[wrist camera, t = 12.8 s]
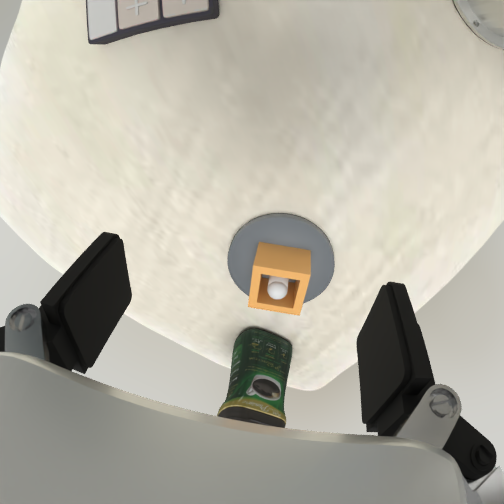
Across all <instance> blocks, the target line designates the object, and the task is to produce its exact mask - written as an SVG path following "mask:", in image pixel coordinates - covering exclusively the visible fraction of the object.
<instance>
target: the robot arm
mask: <svg viewBox="0 0 504 504" xmlns="http://www.w3.org/2000/svg"><path fill="white" fill-rule="evenodd" d="M453 1H454V3H455V6H456V8H457V10H458V11H459V13H460V15H461V17H462V18H463V19H464V21H465V22H466V24H467V25H468V26H469V27H470V28H471V29H472V31H473V32H474V33H475V34H476V35H478V36H479V37H480V38H481V39H482V40H484V41H485V42H487V43H488V44H490V45H492V46H494V47H496V48H500V49H504V0H453ZM473 23H474V24H473ZM131 298H132V292H131V287H130V281H129V276H128V270H127V264H126V258H125V251H124V244H123V240H122V239H120V237H119V235H117V234H113V233H108V232H103V233H102V234H101V235H100V236H99V237H98V238H97V239H96V240H95V241H94V242H93V243H92V244H91V245H90V246H89V247H88V248H87V249H86V250H85V251H84V252H83V253H82V255H81V256H80V257H79V258H78V259H77V260H76V261H75V262H74V263H73V264H72V266H71V267H70V268H69V269H68V270H67V271H66V272H65V273H64V275H63V276H62V277H61V278H60V279H59V280H58V281H57V283H56V284H55V285H54V286H53V287H52V288H51V290H50V291H49V292H48V293H47V294H46V296H45V297H44V298H43V299H42V301H41V306H40V308H39V309H38V307H37V306H35V305H32V304H23V305H20V306H18V307H16V308H15V309H13V310H12V311H11V312H10V313H9V315H8V317H7V318H6V323H5V326H3V327H0V504H504V472H503V471H502V469H501V468H500V466H499V467H497V468H496V467H495V464H496V451H495V448H494V446H493V444H491V442H490V441H489V440H488V439H487V438H485V437H484V436H483V435H482V434H481V433H480V432H478V431H477V430H476V429H475V428H474V427H473V426H471V425H470V424H469V423H468V422H467V421H466V420H465V419H463V418H462V417H461V416H460V413H461V401H460V399H459V397H458V395H457V393H456V392H455V391H454V390H453V389H452V388H450V387H448V386H446V385H442V384H436V385H435V381H434V377H433V373H432V369H431V365H430V361H429V357H428V354H427V350H426V346H425V343H424V339H423V336H422V332H421V329H420V326H419V325H418V323H417V321H416V317H415V314H414V311H413V308H412V305H411V302H410V299H409V296H408V293H407V290H406V287H405V285H404V284H401V283H395V282H388V283H387V285H383V286H382V287H381V289H380V291H379V293H378V295H377V298H376V300H375V302H374V304H373V306H372V308H371V310H370V313H369V315H368V317H367V319H366V321H365V323H364V325H363V327H362V329H361V331H360V333H359V335H358V338H357V354H358V365H359V378H360V391H361V408H362V422H363V423H364V424H366V427H367V432H378V436H374V435H354V434H339V433H326V432H315V431H305V430H296V429H288V428H280V427H273V426H267V425H260V424H254V423H248V422H243V421H237V420H232V419H227V418H222V417H217V416H213V415H208V414H204V413H200V412H195V411H191V410H187V409H183V408H180V407H176V406H172V405H168V404H165V403H161V402H158V401H154V400H151V399H148V398H144V397H141V396H138V395H135V394H132V393H129V392H126V391H123V390H120V389H117V388H114V387H111V386H108V385H106V384H103V383H100V382H97V381H95V380H92V379H90V378H87V377H84V376H82V375H79V374H77V373H74V372H72V369H74V370H76V371H79V372H81V373H83V374H85V373H86V371H87V369H88V367H89V368H91V367H92V366H93V365H94V363H95V361H96V359H97V358H98V356H99V354H100V352H101V350H102V349H103V347H104V345H105V343H106V342H107V340H108V338H109V337H110V335H111V333H112V332H113V330H114V328H115V327H116V325H117V323H118V321H119V320H120V318H121V316H122V315H123V313H124V312H125V310H126V308H127V307H128V305H129V304H130V302H131Z"/></svg>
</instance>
